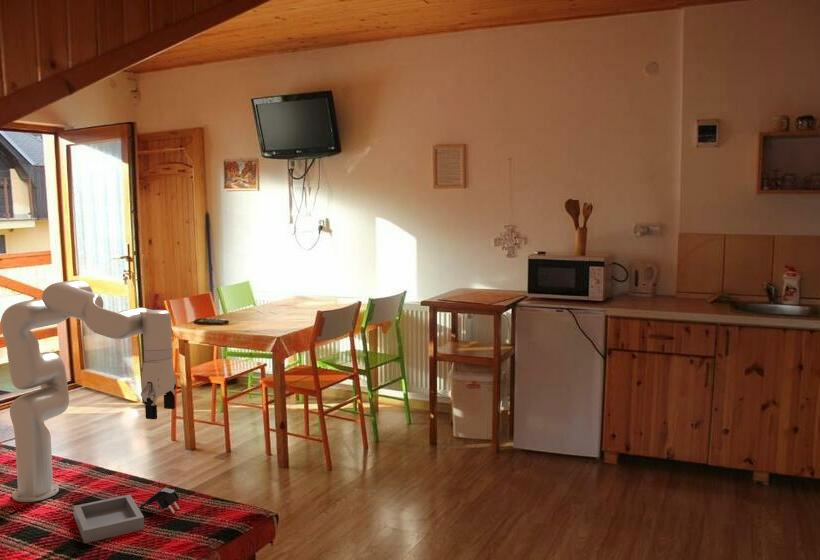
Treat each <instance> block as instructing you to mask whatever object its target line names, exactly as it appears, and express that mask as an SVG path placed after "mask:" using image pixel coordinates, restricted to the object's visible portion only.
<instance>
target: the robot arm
mask: <svg viewBox="0 0 820 560" xmlns="http://www.w3.org/2000/svg"><path fill="white" fill-rule="evenodd" d="M171 315H172V314H171V313H170V311H168V310H165V309H150V308H146V307H134V308H131V309H129V308H128V309H125V310H121V311H114V310H113V311H112V310H110V309H106V308H104V300H103V298H102V296H101V295H100V294H98V293H95V292H93V289H92V287H91V286H90V284H88V283H87V282H86V281H83V280H81V279H80V280H79V279H73V280H67V281H59V282H55V283H52V284H50V285H48V286H47V287H46V288H44V290H43V292H42V295H41V298H37V299H36V298H35V299H31V300H24V301H21V302H18V303H14V304H11V305H10V306H8V307H7V308H6V309H5V310H4V312H3V313H2V315H1V317H0V329H1V334H2V336H3V339H4V343H5V346H6V351H7V352H6V353H7V354H6V355H7V361H8V366H9V373H10V379H11V383H12V385H13V386H14V387H15V389H18V390H22V391H23V390H24V391H25V390H30V389H33V388H37V387H40V389H37V390H33V391H31V392H27V393H24V394H21V395H20V396H18V397H17V398H15V399H14V400H13V402H11V404H10V407H9V417H10V420H11V423H12V428H13V431H14V433H13V434H14V443H15V444H14V445H15V460H16V477H17V489H15V490H13V492H12V494H11V495H12V499H13V500H14V501H16V502H20V503H33V502H39V501H42V500H47V499H49V498H51V497H53V496H55V495H57V494H58V492H59V490H60V485H59V484H57V483H55V482H54V479H53V476H54V475H53V457H52V437H51V436H52V435H51V432H50V430H49V429H48V428H47V426H46V425H45V422H46V421H48V420H49V419H53V418H55V417H57V416H59V415H61V414H63V413H64V412H66V411H67V409H68V408H69V405H70V394H69V386H68V378H67V371H66V370H67V369H66V365H65V363H64V361H63V360H62V358H61V356H59V355H58V354H57V353H55V352H53V351H43V352H41V350H40V343H39V340H38V338H37V336H36V335H35V334H34V333H33V331H32V330H34V329H39V328H44V327H47V326H54V325H57V324H60V323H62V322H64V321H66V320H67V319H69V318H74V319H77V320H80V321H82V322H84V324H85V326H86V327H87V328H88V329H89V330H90V331H91V332H93V333H95V334H98V335H100V336H103V337H105V338H110V339H114V340H123V339H127V338H131V337H135V336H139V335H142V339H143V357H144V358H143V364H142V375H141V381H142V382H141V392H140V396H141V398H142V402H143V406H144V408H145V409H144V411H145V419H146V420H157V419H158V405H157V404H156V402H157V399H158V398H159V397H162V396H163V409H165V410H174V409H176V398H175V397H176V396H175V395H176V389H177V380H178V377H177V376H175V370H174V362H173V339H172V335H173V334H172V316H171ZM151 398H152V399H151Z"/></svg>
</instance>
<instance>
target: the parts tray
mask: <svg viewBox="0 0 820 560" xmlns="http://www.w3.org/2000/svg"><path fill="white" fill-rule="evenodd" d="M73 518H74V521H75V524H76V526H77V528H78V531H79V533H80V536H81V539H82V541H83V543H84V544H88V543H93V542H96V541H101V540H105V539H109V538H114V537H117V536H122V535H125V534H131V533H134V532H140V531H143V530H145V517H144V515H143V513H142V511H141V510H140V508H139V506H138V505H137V503H136V501H135V500H134V498H133V497H132V494H130V493H129V494H125V495H120V496H115V497H111V498H107V499H106V498H105V499H100V500H96V501H91V502H87V503H81V504H77V505H73ZM92 541H93V542H92Z"/></svg>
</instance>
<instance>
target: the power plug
mask: <svg viewBox="0 0 820 560" xmlns="http://www.w3.org/2000/svg"><path fill="white" fill-rule="evenodd" d="M180 498H181V497H180V495H179V494H178V492H177V490H176V489H171V488H168V487H163V488H162V489H161V490H160V491H159V490H158V492H156V493H155V494H153V495H152V496H151V497H149V499H147V500H146V501H145V502H144V503H143V504H141V505H140V508H141V509H142V508H144V507H145V506H148V505H151V504H154V502H157V504H158V505H159V507H160V508H161V510H162V511H164V509H166V508H168V509H169V511H170V512H171V513H172V514H175V510H174V507H175V508H176V510H177V511H179V510H180V507H179V505H178V503H177V502H176V501H178V500H179V499H180ZM172 504H173V505H174V507H172Z"/></svg>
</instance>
